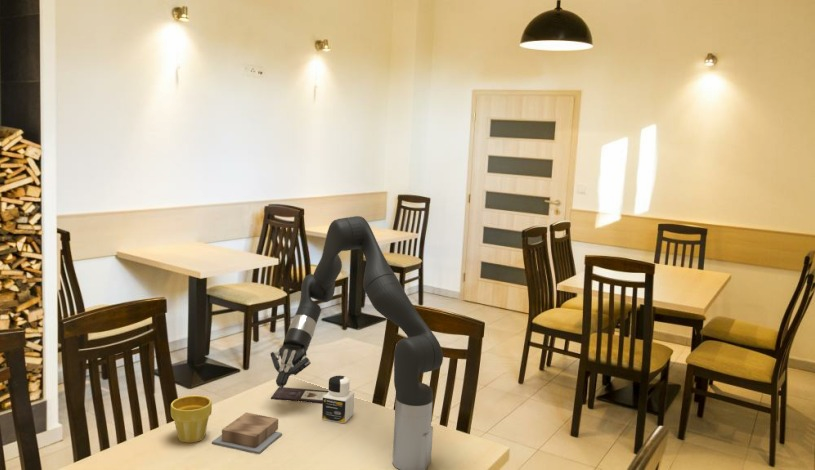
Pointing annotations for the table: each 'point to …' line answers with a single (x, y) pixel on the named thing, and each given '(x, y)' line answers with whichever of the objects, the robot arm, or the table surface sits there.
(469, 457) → the table surface
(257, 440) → the walnut tile
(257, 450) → the felt mat
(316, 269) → the robot arm
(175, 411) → the plant pot
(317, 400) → the chocolate bar
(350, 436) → the table surface
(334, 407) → the medicine bottle
